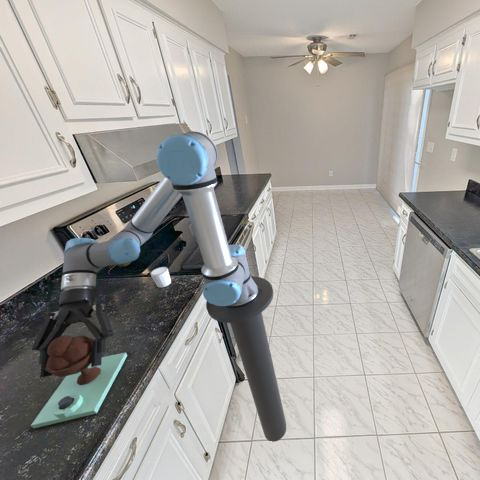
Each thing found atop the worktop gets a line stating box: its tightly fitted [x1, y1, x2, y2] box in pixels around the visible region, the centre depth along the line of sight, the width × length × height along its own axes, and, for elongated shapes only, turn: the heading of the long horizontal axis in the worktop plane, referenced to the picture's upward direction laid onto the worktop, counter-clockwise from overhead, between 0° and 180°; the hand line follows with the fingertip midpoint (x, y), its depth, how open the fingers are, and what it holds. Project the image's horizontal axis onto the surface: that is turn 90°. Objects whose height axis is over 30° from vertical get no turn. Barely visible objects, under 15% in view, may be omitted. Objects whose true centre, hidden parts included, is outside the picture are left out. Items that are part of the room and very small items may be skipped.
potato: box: [115, 261, 132, 268], centre depth 129 cm, size 8×13×8 cm, turn 23°
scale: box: [30, 351, 128, 429], centre depth 71 cm, size 14×18×3 cm
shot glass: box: [149, 266, 172, 289], centre depth 113 cm, size 7×7×7 cm
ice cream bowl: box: [45, 334, 101, 385], centre depth 70 cm, size 11×11×15 cm
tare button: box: [58, 396, 73, 409], centre depth 65 cm, size 2×2×2 cm
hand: (71, 371), depth 68 cm, fingers closed on ice cream bowl, 11 cm apart
